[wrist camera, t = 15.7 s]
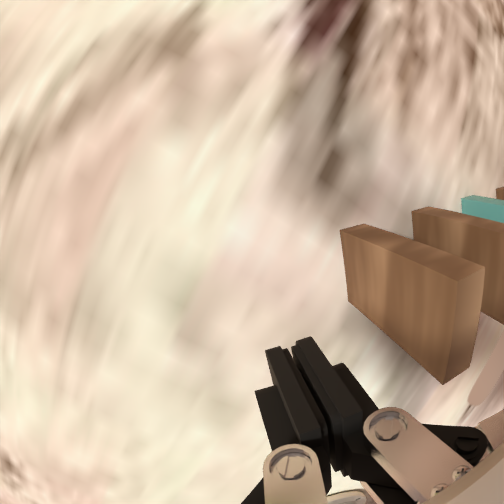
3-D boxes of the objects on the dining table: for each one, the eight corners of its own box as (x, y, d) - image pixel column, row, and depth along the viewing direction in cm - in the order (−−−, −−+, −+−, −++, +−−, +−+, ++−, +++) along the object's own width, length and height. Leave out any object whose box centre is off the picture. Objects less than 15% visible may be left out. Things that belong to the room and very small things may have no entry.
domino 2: (428, 206, 19) (540, 233, 9) (431, 269, 20) (528, 318, 11) (411, 211, 19) (528, 241, 9) (414, 275, 20) (514, 331, 10)
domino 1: (363, 223, 18) (485, 266, 9) (370, 293, 19) (469, 367, 10) (339, 229, 18) (457, 281, 8) (348, 301, 19) (442, 385, 10)
